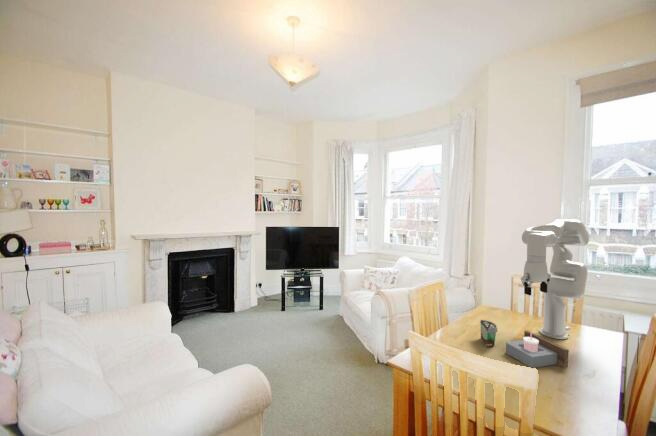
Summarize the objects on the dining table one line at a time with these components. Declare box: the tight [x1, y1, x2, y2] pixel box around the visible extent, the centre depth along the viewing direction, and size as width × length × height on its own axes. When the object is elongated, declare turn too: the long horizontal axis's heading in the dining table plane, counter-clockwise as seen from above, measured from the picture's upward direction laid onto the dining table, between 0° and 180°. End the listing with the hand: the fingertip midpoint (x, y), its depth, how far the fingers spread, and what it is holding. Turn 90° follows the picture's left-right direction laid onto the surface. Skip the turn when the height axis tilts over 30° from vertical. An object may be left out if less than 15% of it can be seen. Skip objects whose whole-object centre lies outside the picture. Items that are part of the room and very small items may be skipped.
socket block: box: [505, 339, 558, 369], centre depth 136 cm, size 14×14×5 cm
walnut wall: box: [523, 330, 570, 369], centre depth 138 cm, size 2×20×8 cm, turn 14°
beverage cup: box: [522, 328, 539, 352], centre depth 136 cm, size 6×6×14 cm
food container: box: [480, 319, 498, 348], centre depth 151 cm, size 12×6×10 cm, turn 168°
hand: (535, 293), depth 142 cm, fingers open, 9 cm apart
